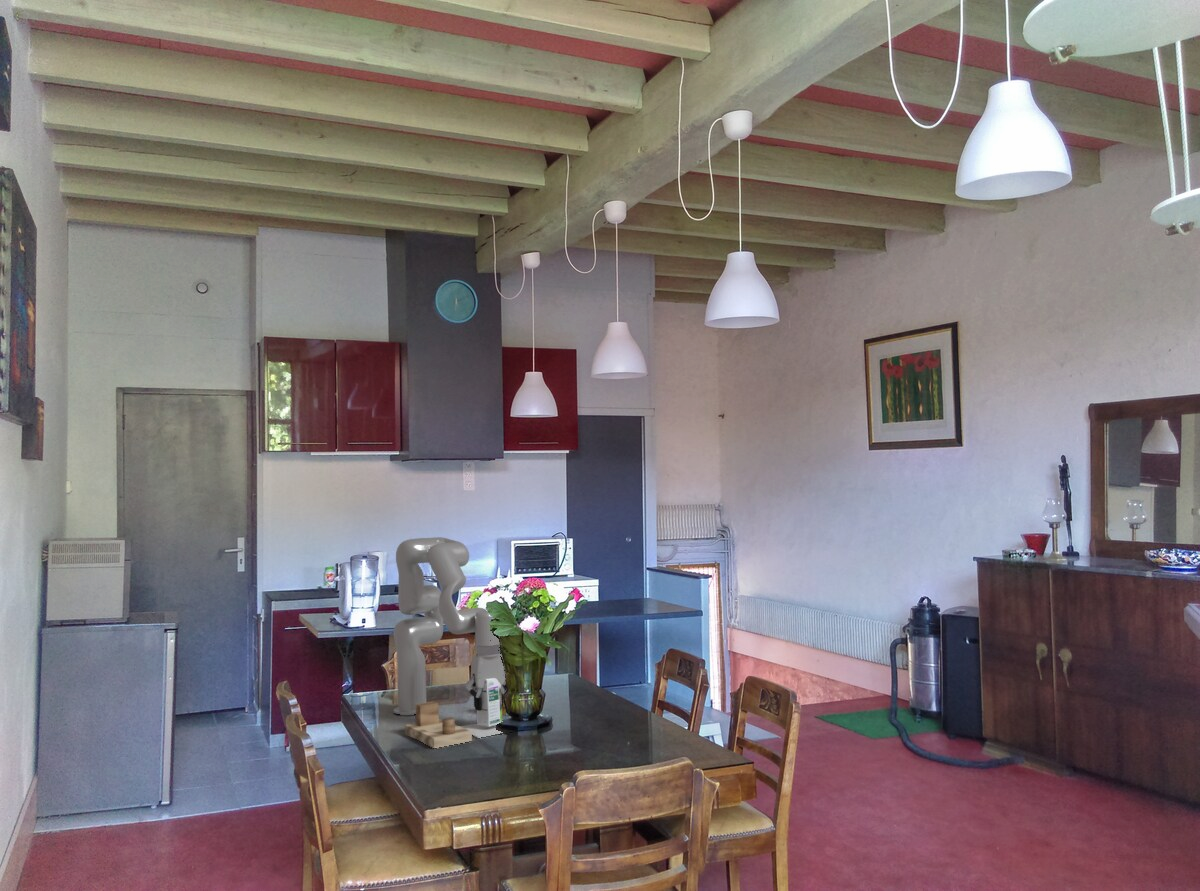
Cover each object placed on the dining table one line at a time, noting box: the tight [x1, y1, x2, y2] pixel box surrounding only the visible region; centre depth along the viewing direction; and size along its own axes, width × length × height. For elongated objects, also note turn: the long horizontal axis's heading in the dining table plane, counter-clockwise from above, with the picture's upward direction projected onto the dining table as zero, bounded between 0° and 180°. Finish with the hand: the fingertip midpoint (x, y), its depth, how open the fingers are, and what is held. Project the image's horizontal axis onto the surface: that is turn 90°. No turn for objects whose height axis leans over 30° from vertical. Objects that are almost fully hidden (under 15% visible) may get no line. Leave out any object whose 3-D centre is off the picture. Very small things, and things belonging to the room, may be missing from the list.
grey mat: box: [459, 723, 503, 739], centre depth 292 cm, size 16×16×1 cm
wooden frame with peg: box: [404, 701, 473, 749], centre depth 284 cm, size 22×12×9 cm, turn 33°
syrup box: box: [476, 678, 503, 727], centre depth 293 cm, size 6×6×14 cm
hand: (489, 707), depth 293 cm, fingers open, 6 cm apart
